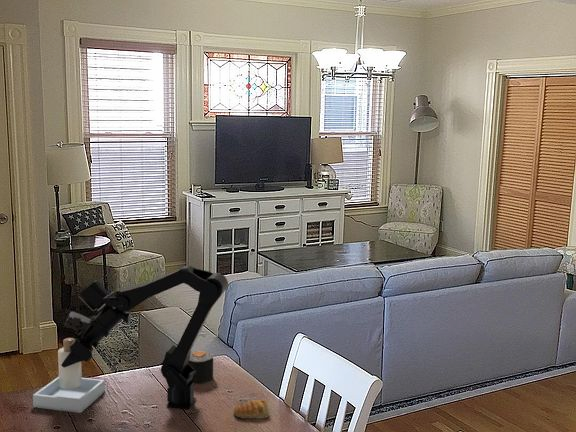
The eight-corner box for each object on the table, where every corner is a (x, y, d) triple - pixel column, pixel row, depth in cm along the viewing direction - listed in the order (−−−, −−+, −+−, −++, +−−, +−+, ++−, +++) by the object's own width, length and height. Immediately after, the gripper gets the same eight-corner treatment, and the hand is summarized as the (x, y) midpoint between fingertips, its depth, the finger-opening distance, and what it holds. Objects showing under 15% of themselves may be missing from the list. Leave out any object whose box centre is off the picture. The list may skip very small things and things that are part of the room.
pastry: (236, 422, 172) (237, 408, 171) (231, 411, 178) (231, 398, 177) (270, 418, 174) (271, 404, 174) (264, 407, 181) (264, 394, 180)
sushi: (179, 378, 198) (179, 354, 197) (199, 370, 205) (199, 346, 203) (198, 386, 193) (198, 360, 192) (218, 377, 200) (218, 352, 199)
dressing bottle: (85, 381, 184) (84, 337, 182) (75, 389, 178) (73, 344, 176) (66, 379, 185) (64, 335, 183) (55, 387, 179) (53, 342, 177)
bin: (105, 391, 188) (104, 380, 187) (80, 412, 174) (80, 400, 174) (60, 386, 190) (60, 375, 190) (33, 407, 177) (32, 395, 176)
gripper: (87, 294, 188) (49, 332, 188) (77, 313, 169) (34, 355, 169) (116, 319, 190) (78, 356, 190) (108, 341, 172) (67, 382, 172)
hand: (64, 362), depth 180 cm, fingers closed on dressing bottle, 6 cm apart
